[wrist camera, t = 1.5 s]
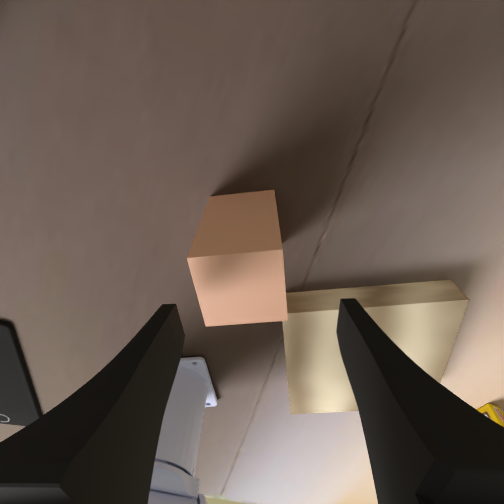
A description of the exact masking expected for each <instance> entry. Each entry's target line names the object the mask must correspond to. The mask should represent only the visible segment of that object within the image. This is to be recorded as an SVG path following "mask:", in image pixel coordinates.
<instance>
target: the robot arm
mask: <svg viewBox="0 0 504 504" xmlns="http://www.w3.org/2000/svg"><path fill="white" fill-rule="evenodd" d="M336 333H337V339H338V344H339V349H340V353H341V357H342V360H343V363H344V366H345V369H346V373H347V376H348V379H349V382H350V385H351V388H352V391H353V394H354V397H355V400H356V403H357V407H358V410H359V414H360V418H361V422H362V427H363V431H364V435H365V440H366V445H367V449H368V454H369V459H370V464H371V468H372V474H373V479H374V484H375V489H376V494H377V499H378V504H504V427H503V426H501V425H499V424H498V423H496V422H494V421H493V420H491V419H490V418H488V417H487V416H485V415H484V414H482V413H481V412H479V411H478V410H476V409H475V408H473V407H472V406H470V405H469V404H467V403H466V402H464V401H463V400H461V399H460V398H459V397H457V396H456V395H455V394H453V393H452V392H451V391H449V390H448V389H447V388H445V387H444V386H443V385H441V384H440V383H439V382H437V381H436V380H435V379H434V378H432V377H431V376H430V375H429V374H428V373H426V372H425V371H424V370H423V369H422V368H421V367H419V366H418V365H417V364H416V363H415V362H414V361H413V360H412V359H410V358H409V357H408V356H407V355H406V354H405V353H404V352H403V351H402V350H401V349H400V348H399V347H398V346H397V345H396V344H395V343H394V342H393V341H392V340H391V339H390V338H389V337H388V336H387V334H386V333H385V332H384V331H383V330H382V329H381V328H380V327H379V326H378V325H377V324H376V322H375V321H374V320H373V319H372V318H371V317H370V315H369V314H368V313H367V312H366V311H365V309H364V308H363V307H362V306H361V304H360V303H359V302H358V301H357V300H356V299H355V298H344V299H340V306H339V314H338V321H337V329H336ZM184 337H185V334H184V331H183V327H182V324H181V320H180V317H179V313H178V309H177V306H176V304H162V306H161V307H160V308H159V309H158V310H157V311H156V312H155V314H154V315H153V316H152V317H151V318H150V319H149V321H148V322H147V323H146V324H145V325H144V326H143V328H142V329H141V330H140V331H139V332H138V333H137V334H136V335H135V337H134V338H133V339H132V340H131V341H130V342H129V343H128V344H127V345H126V346H125V347H124V348H123V349H122V350H121V351H120V352H119V354H118V355H117V356H116V357H115V358H114V359H113V360H112V361H111V362H110V363H108V364H107V365H106V366H105V367H104V368H103V369H102V370H101V371H100V372H99V373H98V374H96V375H95V376H94V377H93V378H92V379H91V380H89V381H88V382H87V383H86V384H85V385H83V386H82V387H81V388H79V389H78V390H77V391H76V392H74V393H73V394H72V395H71V396H69V397H68V398H67V399H65V400H64V401H63V402H61V403H60V404H59V405H57V406H56V407H54V408H53V409H52V410H50V411H49V412H47V413H46V414H44V415H43V416H41V417H40V418H39V419H37V420H36V421H34V422H32V423H31V424H29V425H28V426H26V427H25V428H23V429H21V430H20V431H18V432H17V433H15V434H13V435H12V436H10V437H9V438H7V439H5V440H4V441H2V442H0V504H207V501H206V498H205V496H204V495H203V494H198V491H199V484H200V479H197V478H194V476H195V469H196V463H197V456H198V450H199V444H200V437H201V431H202V424H203V418H204V412H205V407H211V406H216V405H217V398H216V394H215V391H214V388H213V385H212V381H211V378H210V375H209V371H208V368H207V365H206V362H205V359H204V358H203V357H189V358H181V355H182V350H183V344H184Z"/></svg>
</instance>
